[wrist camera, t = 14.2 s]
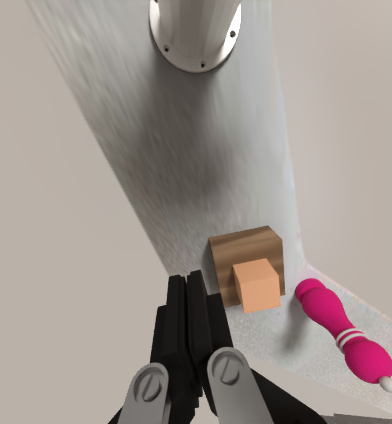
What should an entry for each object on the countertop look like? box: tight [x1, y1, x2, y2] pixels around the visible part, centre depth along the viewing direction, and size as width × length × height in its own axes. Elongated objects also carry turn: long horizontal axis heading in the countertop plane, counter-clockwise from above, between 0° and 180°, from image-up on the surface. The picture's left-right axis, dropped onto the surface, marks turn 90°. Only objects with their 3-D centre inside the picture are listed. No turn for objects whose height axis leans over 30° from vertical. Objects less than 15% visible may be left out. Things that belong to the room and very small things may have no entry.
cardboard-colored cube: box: [233, 258, 281, 313], centre depth 35 cm, size 6×6×5 cm
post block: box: [209, 226, 285, 307], centre depth 40 cm, size 12×12×6 cm
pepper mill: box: [295, 278, 392, 392], centre depth 37 cm, size 7×7×20 cm
